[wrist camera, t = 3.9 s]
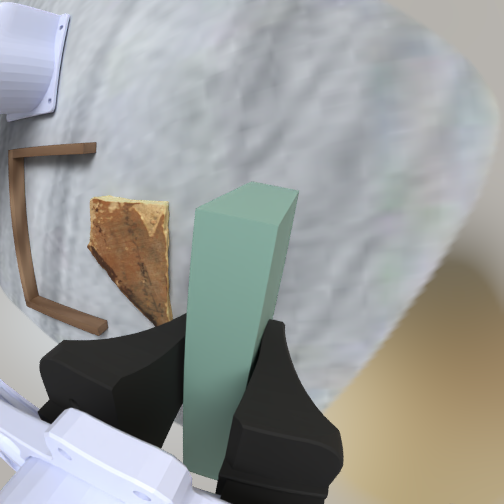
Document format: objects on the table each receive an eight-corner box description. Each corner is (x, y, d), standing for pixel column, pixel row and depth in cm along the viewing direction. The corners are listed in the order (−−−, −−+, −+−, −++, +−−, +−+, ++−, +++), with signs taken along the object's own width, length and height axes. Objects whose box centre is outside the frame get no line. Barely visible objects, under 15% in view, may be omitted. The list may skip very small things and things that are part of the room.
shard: (178, 332, 25) (168, 344, 23) (104, 311, 26) (92, 320, 24) (177, 200, 21) (165, 204, 19) (94, 192, 22) (79, 196, 21)
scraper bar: (253, 399, 17) (224, 482, 11) (220, 390, 17) (183, 469, 12) (298, 190, 13) (278, 225, 7) (251, 181, 13) (195, 208, 7)
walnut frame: (19, 148, 22) (8, 150, 21) (96, 142, 20) (83, 143, 19) (35, 300, 28) (26, 306, 26) (108, 327, 26) (98, 336, 24)
